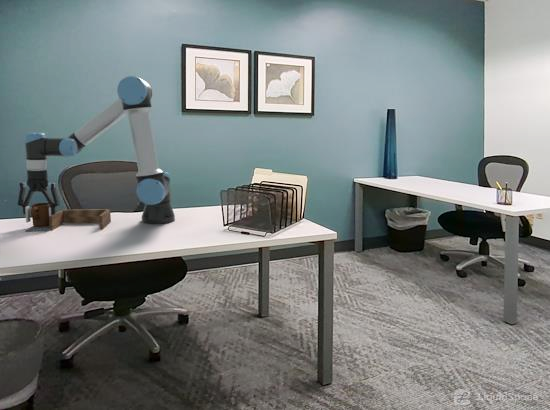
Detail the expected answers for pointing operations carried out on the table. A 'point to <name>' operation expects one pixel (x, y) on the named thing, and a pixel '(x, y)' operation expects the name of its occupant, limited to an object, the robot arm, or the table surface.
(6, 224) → the table surface
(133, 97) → the robot arm
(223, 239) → the table surface
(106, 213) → the brown wooden u-shaped piece
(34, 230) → the mat
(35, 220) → the mug
